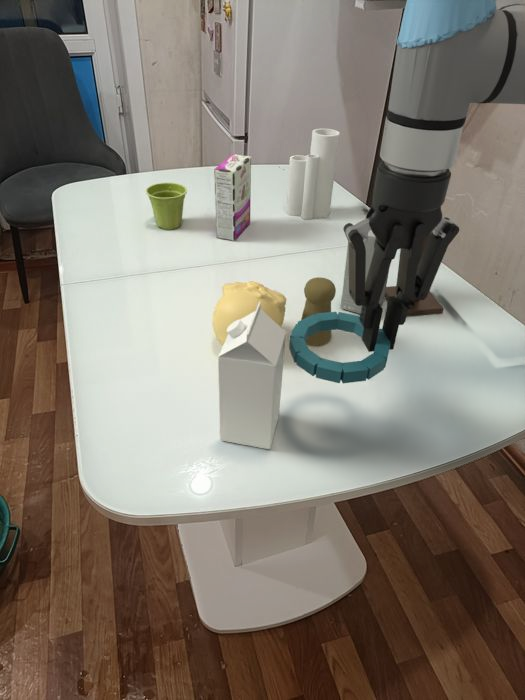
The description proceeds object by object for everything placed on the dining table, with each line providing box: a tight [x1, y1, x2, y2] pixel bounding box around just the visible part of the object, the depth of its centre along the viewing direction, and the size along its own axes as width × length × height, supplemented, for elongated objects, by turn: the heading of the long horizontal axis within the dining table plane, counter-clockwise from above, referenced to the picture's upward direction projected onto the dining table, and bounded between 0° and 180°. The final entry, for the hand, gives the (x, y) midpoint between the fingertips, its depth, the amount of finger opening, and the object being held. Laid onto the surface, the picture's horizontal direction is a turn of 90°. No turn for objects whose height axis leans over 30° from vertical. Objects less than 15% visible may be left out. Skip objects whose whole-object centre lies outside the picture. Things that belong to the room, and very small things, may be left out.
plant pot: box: [145, 182, 188, 231], centre depth 121 cm, size 9×9×9 cm
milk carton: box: [217, 302, 287, 450], centre depth 67 cm, size 7×7×19 cm
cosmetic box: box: [340, 217, 391, 315], centre depth 95 cm, size 8×7×16 cm
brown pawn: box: [300, 276, 337, 347], centre depth 87 cm, size 6×6×11 cm
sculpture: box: [211, 280, 287, 346], centre depth 85 cm, size 11×12×11 cm
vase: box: [285, 127, 340, 221], centre depth 126 cm, size 11×7×20 cm, turn 106°
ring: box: [288, 311, 391, 384], centre depth 66 cm, size 13×13×2 cm
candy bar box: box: [213, 153, 252, 242], centre depth 118 cm, size 11×5×16 cm, turn 162°
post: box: [384, 232, 445, 317], centre depth 96 cm, size 9×9×15 cm
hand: (377, 344), depth 67 cm, fingers closed on ring, 2 cm apart
